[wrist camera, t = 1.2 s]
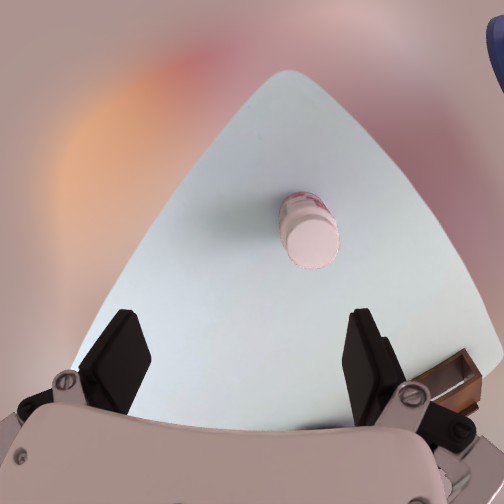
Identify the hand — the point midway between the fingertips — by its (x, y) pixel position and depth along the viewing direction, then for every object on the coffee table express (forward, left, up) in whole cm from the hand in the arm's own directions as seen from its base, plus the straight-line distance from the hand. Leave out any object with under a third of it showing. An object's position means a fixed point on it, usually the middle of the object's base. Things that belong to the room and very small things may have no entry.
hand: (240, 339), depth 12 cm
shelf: (-11, +40, -18) cm, 45 cm away
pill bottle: (-4, +2, -19) cm, 19 cm away
